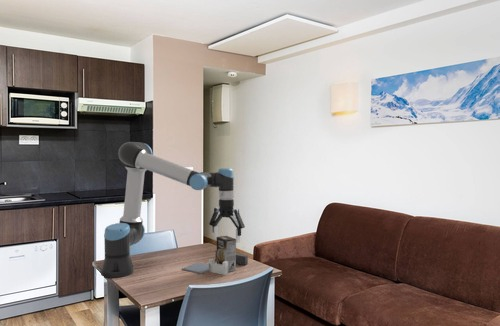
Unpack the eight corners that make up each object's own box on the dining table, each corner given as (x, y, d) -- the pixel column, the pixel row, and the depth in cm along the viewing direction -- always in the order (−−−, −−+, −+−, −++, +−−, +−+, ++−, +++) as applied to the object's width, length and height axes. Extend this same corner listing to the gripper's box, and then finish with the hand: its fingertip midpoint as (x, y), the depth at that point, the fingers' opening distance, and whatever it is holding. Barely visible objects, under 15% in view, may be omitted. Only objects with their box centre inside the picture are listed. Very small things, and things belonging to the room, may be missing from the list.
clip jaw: (208, 271, 186) (208, 259, 186) (211, 270, 188) (211, 258, 188) (225, 275, 181) (225, 262, 181) (228, 273, 183) (228, 261, 183)
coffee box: (216, 268, 192) (216, 236, 191) (226, 265, 196) (226, 235, 195) (225, 272, 185) (225, 240, 184) (236, 270, 188) (236, 238, 188)
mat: (181, 269, 189) (181, 268, 189) (198, 263, 200) (198, 262, 200) (202, 274, 182) (202, 272, 182) (217, 267, 193) (217, 265, 193)
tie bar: (215, 259, 206) (215, 250, 206) (218, 258, 209) (218, 249, 208) (245, 265, 196) (245, 255, 196) (247, 263, 198) (247, 254, 198)
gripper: (202, 198, 193) (202, 239, 193) (243, 201, 180) (243, 245, 180) (211, 196, 199) (211, 236, 199) (251, 199, 186) (251, 241, 186)
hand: (226, 240), depth 190 cm, fingers open, 13 cm apart
